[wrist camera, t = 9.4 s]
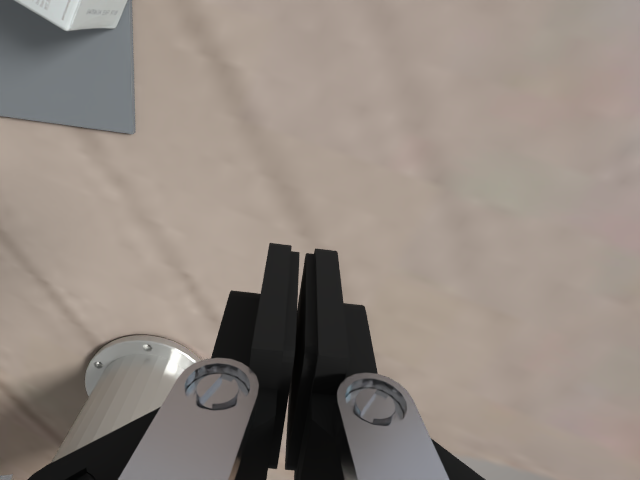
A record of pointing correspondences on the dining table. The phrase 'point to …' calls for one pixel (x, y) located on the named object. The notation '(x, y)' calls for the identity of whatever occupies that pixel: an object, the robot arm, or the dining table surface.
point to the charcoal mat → (66, 71)
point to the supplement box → (78, 12)
